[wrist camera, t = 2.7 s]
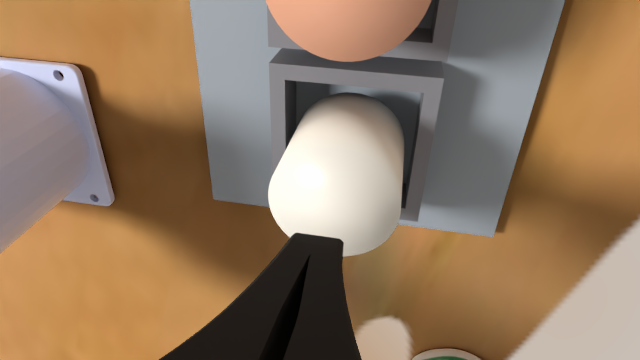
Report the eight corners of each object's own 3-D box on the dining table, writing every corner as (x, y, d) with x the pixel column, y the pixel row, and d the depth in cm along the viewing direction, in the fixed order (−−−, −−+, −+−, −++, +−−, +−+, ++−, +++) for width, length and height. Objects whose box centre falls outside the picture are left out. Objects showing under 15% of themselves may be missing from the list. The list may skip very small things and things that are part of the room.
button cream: (297, 182, 20) (270, 246, 16) (297, 87, 18) (265, 138, 14) (397, 194, 19) (392, 264, 16) (411, 98, 17) (410, 154, 13)
